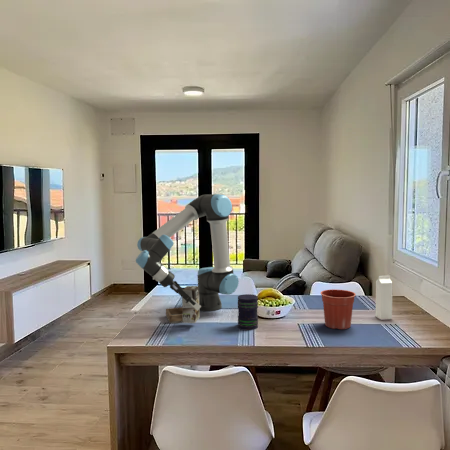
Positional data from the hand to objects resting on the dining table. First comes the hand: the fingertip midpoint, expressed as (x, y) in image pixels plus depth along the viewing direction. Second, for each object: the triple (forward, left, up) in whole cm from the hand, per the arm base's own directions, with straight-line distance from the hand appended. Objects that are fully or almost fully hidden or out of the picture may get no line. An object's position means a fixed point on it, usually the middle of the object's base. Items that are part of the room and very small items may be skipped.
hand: (196, 305), depth 205 cm
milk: (-94, +17, -11) cm, 96 cm away
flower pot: (-65, +21, -11) cm, 69 cm away
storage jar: (-23, +9, -11) cm, 27 cm away
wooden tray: (+6, -15, -10) cm, 19 cm away
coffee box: (+3, 0, -7) cm, 8 cm away
